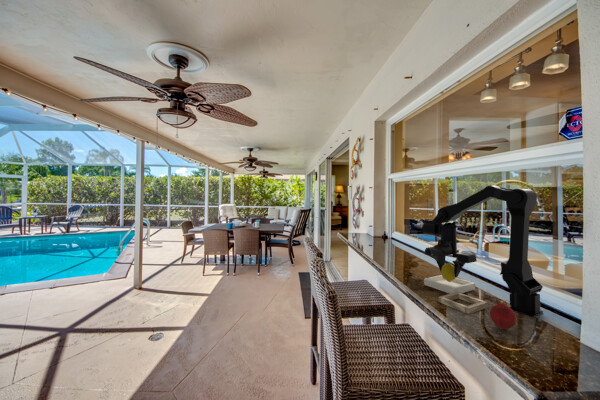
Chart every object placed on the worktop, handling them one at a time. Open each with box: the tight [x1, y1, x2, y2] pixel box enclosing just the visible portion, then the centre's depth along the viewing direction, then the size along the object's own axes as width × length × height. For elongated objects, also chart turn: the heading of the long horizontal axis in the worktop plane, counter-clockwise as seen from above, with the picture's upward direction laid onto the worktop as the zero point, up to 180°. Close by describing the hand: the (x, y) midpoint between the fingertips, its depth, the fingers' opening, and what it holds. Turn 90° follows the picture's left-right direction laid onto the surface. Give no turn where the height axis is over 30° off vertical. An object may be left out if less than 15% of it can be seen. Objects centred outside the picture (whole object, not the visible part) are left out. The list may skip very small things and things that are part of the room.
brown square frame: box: [437, 292, 489, 315], centre depth 85 cm, size 10×10×2 cm
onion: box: [489, 299, 517, 330], centre depth 69 cm, size 6×6×8 cm
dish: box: [423, 274, 476, 294], centre depth 102 cm, size 13×13×3 cm
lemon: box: [440, 262, 457, 282], centre depth 102 cm, size 6×6×8 cm
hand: (449, 275), depth 102 cm, fingers closed on lemon, 6 cm apart
